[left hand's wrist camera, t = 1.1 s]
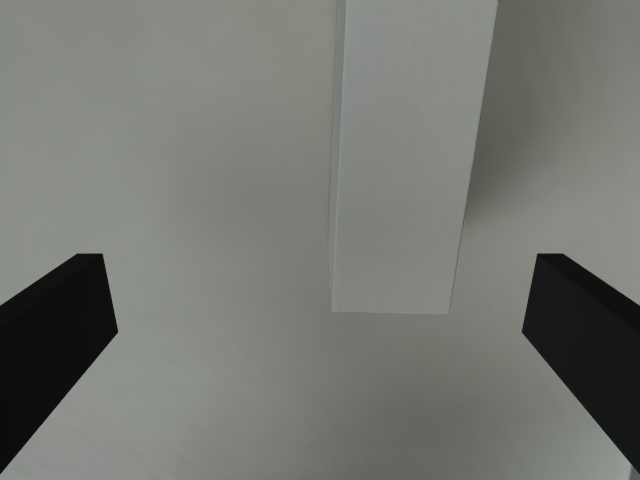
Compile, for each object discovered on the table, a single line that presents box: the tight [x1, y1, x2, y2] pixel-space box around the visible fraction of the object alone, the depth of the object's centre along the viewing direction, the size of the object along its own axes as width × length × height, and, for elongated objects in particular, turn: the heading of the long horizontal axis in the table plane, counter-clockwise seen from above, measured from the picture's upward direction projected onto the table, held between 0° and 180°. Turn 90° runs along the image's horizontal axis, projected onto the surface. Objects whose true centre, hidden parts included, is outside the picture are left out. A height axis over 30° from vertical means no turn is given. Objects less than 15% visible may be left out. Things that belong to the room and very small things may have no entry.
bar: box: [328, 0, 499, 315], centre depth 20 cm, size 26×6×9 cm, turn 178°
